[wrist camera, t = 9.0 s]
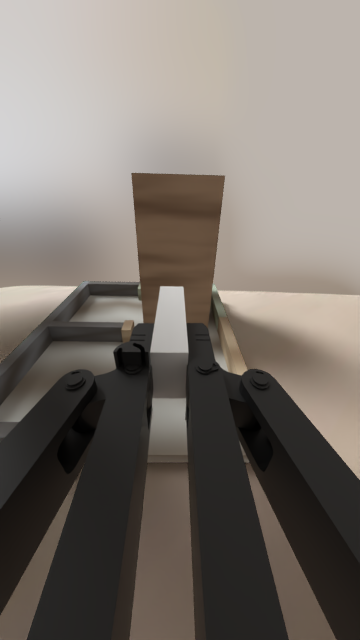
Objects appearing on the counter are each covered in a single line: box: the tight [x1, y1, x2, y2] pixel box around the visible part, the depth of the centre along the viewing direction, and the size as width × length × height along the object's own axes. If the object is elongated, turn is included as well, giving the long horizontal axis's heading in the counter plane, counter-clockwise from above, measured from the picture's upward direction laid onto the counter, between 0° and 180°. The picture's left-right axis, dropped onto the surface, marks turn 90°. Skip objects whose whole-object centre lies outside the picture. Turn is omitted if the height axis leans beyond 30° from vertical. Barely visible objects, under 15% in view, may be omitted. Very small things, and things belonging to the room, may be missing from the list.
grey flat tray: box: [0, 281, 250, 463], centre depth 24 cm, size 25×21×3 cm
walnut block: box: [132, 173, 225, 328], centre depth 26 cm, size 8×8×16 cm
